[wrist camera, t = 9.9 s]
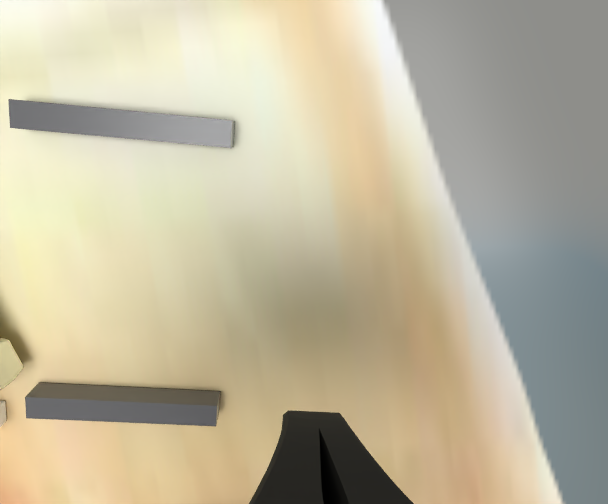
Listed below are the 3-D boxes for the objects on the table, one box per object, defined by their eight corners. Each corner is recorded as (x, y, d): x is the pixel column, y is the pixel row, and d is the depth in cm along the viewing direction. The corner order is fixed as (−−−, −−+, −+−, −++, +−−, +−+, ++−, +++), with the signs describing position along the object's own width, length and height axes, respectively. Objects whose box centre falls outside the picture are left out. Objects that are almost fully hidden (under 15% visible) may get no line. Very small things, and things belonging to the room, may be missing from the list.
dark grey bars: (219, 410, 22) (216, 426, 21) (40, 402, 21) (26, 418, 20) (234, 121, 19) (232, 120, 17) (25, 101, 18) (8, 99, 17)
